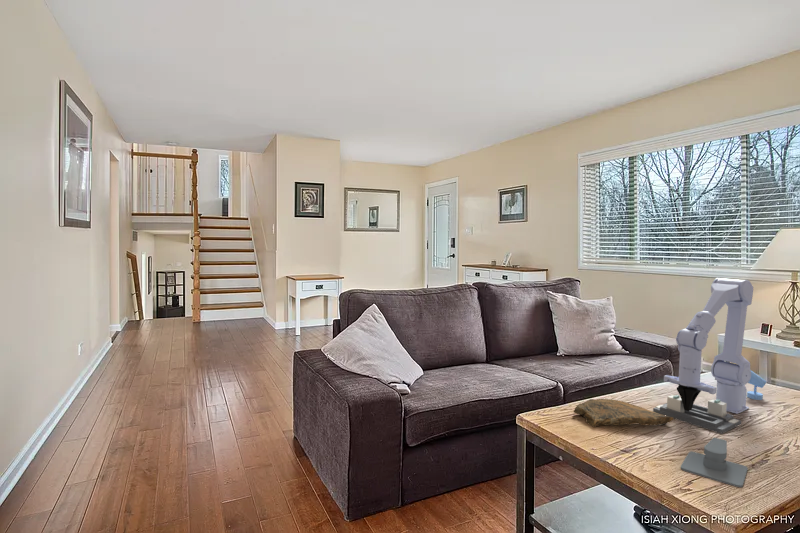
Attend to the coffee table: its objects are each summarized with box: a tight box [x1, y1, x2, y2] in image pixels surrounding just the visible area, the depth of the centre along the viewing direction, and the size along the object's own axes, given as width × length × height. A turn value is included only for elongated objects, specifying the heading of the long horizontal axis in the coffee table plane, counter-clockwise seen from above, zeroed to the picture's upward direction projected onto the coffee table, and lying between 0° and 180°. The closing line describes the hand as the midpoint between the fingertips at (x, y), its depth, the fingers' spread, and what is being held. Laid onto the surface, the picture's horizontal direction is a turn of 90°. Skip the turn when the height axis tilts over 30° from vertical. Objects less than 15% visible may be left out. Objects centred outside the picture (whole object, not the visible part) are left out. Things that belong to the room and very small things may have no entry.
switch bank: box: [652, 402, 742, 434], centre depth 145 cm, size 13×20×2 cm, turn 33°
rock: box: [573, 398, 675, 428], centre depth 142 cm, size 25×6×20 cm
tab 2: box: [707, 399, 727, 417], centre depth 143 cm, size 3×4×5 cm
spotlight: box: [746, 369, 767, 401], centre depth 164 cm, size 5×10×7 cm
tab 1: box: [666, 394, 685, 413], centre depth 147 cm, size 3×4×5 cm
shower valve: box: [680, 437, 749, 488], centre depth 113 cm, size 12×6×15 cm
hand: (687, 409), depth 144 cm, fingers closed
